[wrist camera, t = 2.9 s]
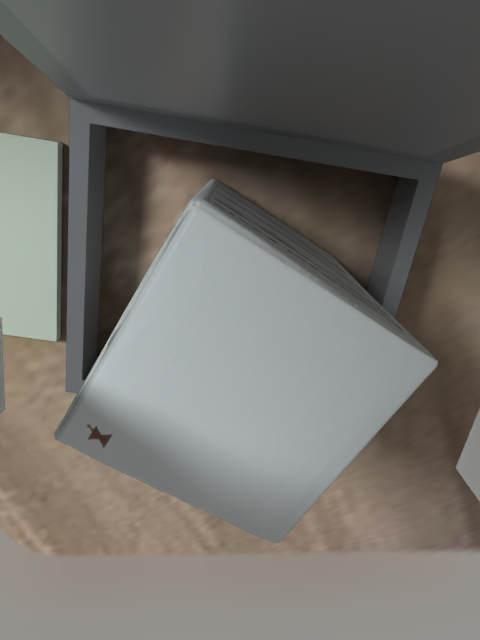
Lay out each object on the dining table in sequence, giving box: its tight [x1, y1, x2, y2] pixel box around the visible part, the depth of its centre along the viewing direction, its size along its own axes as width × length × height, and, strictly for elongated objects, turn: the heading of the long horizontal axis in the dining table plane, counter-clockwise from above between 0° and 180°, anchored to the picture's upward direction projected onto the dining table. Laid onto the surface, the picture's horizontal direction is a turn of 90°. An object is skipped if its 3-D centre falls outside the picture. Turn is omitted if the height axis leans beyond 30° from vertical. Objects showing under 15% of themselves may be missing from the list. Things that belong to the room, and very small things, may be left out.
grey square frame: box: [66, 98, 443, 393], centre depth 21 cm, size 16×14×2 cm
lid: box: [0, 0, 480, 163], centre depth 11 cm, size 16×14×1 cm
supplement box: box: [54, 179, 438, 543], centre depth 16 cm, size 7×7×13 cm
